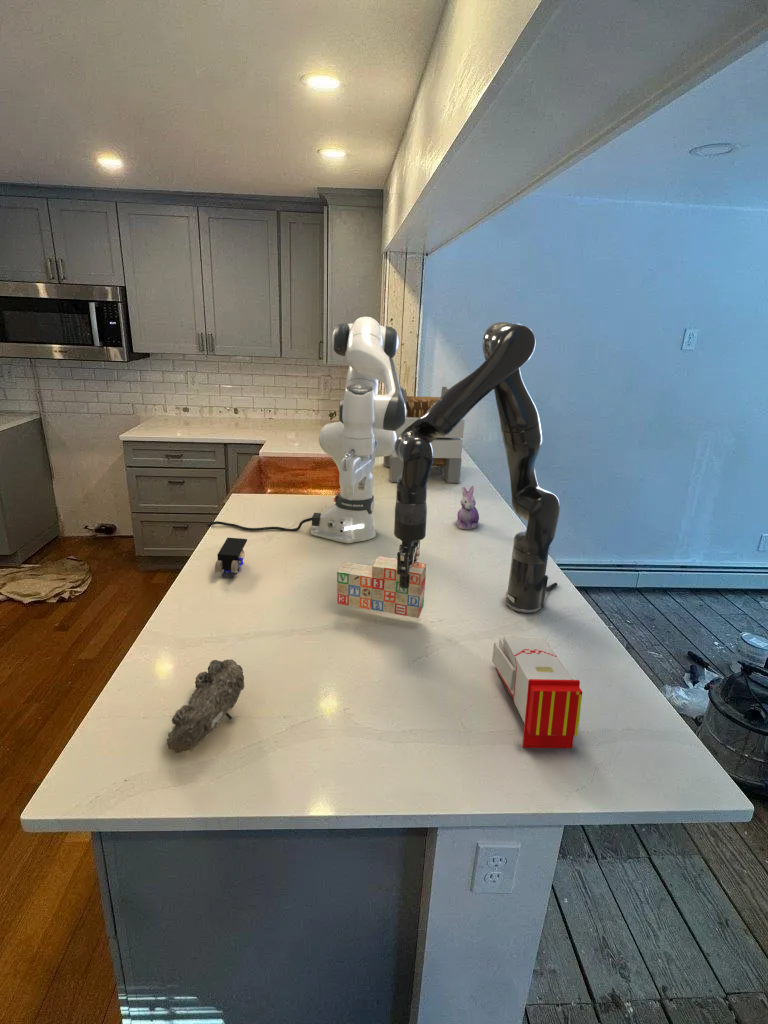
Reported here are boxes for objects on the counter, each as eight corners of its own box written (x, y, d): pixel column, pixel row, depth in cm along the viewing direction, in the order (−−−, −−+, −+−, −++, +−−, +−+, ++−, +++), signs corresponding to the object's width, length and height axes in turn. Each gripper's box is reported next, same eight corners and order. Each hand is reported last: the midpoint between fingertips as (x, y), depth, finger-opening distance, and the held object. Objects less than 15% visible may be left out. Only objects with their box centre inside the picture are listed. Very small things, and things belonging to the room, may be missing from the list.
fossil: (192, 660, 117) (244, 628, 112) (224, 691, 120) (276, 661, 115) (142, 746, 98) (202, 712, 93) (182, 779, 101) (242, 748, 96)
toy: (540, 620, 128) (592, 687, 99) (535, 674, 131) (584, 755, 102) (487, 619, 128) (523, 686, 99) (483, 673, 131) (517, 754, 101)
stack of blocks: (336, 604, 144) (336, 560, 139) (344, 593, 149) (344, 550, 145) (419, 618, 138) (421, 573, 134) (424, 606, 144) (426, 562, 140)
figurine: (464, 532, 204) (468, 492, 199) (449, 522, 212) (452, 484, 207) (486, 528, 208) (490, 489, 203) (469, 519, 216) (473, 481, 211)
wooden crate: (382, 463, 289) (386, 382, 275) (445, 464, 293) (451, 384, 279) (390, 482, 257) (394, 392, 243) (460, 483, 261) (468, 394, 247)
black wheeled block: (238, 584, 162) (249, 557, 175) (236, 562, 158) (247, 536, 172) (215, 584, 161) (227, 556, 175) (212, 561, 158) (225, 535, 171)
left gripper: (356, 456, 144) (355, 507, 149) (379, 439, 162) (377, 485, 167) (333, 453, 145) (332, 504, 150) (358, 437, 164) (357, 483, 169)
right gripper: (419, 530, 126) (416, 597, 132) (432, 509, 139) (428, 571, 145) (386, 526, 128) (385, 592, 134) (402, 506, 141) (400, 567, 147)
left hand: (356, 494), depth 159 cm, fingers open, 8 cm apart
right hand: (407, 581), depth 139 cm, fingers closed on stack of blocks, 6 cm apart
